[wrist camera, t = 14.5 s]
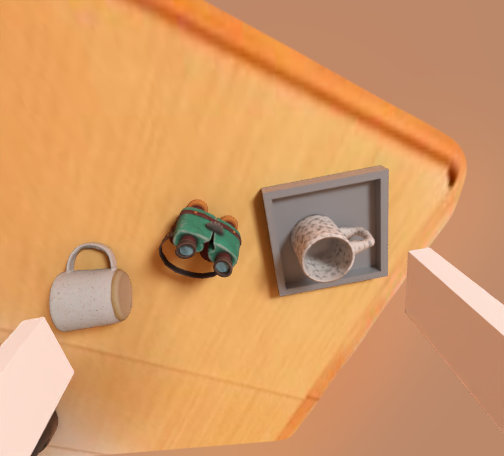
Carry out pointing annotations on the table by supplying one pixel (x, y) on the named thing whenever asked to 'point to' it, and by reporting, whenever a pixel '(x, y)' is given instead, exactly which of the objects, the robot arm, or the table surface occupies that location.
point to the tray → (340, 212)
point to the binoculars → (204, 240)
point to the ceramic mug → (90, 294)
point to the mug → (327, 247)
